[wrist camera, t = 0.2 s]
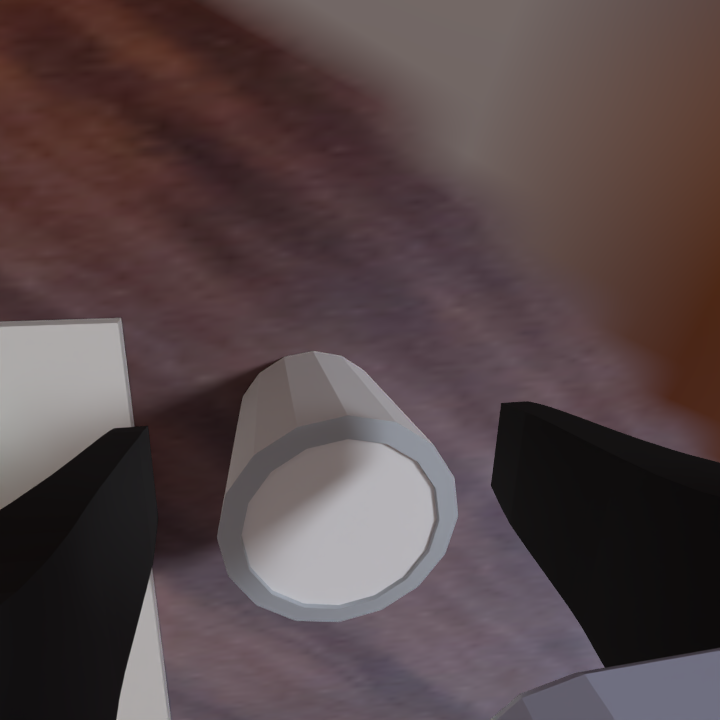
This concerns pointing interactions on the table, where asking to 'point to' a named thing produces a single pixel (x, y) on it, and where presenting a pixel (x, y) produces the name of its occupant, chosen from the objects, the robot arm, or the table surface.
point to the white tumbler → (331, 494)
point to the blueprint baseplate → (74, 447)
